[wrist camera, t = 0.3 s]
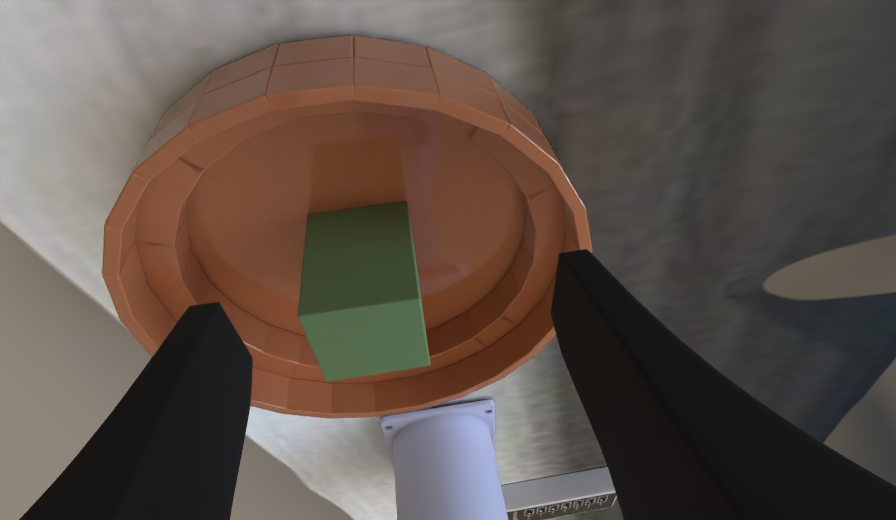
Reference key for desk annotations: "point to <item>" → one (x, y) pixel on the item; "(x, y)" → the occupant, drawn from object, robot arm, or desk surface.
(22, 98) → the desk surface
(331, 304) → the green block
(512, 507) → the multiport hub
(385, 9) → the desk surface
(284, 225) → the basin
